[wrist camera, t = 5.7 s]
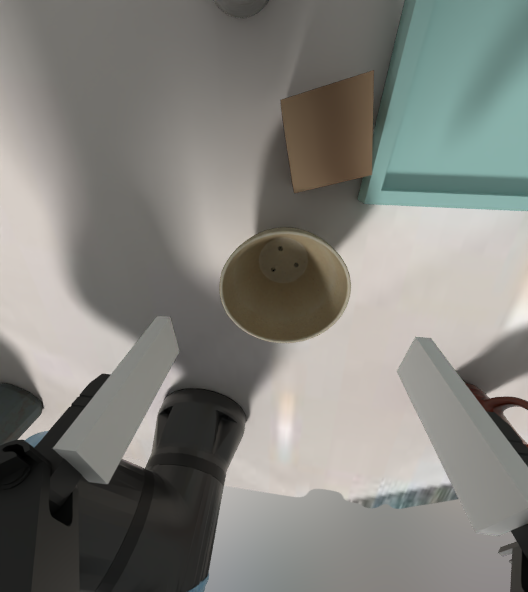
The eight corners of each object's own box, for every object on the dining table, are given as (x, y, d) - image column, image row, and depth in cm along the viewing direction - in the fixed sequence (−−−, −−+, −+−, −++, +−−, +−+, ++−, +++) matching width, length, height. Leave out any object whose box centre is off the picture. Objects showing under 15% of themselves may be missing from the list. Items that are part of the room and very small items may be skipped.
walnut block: (292, 184, 19) (294, 193, 15) (281, 113, 17) (280, 100, 13) (352, 170, 19) (371, 174, 14) (350, 91, 16) (373, 70, 12)
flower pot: (321, 303, 26) (332, 349, 20) (235, 294, 26) (220, 336, 20) (345, 214, 20) (370, 239, 14) (236, 203, 21) (216, 224, 15)
